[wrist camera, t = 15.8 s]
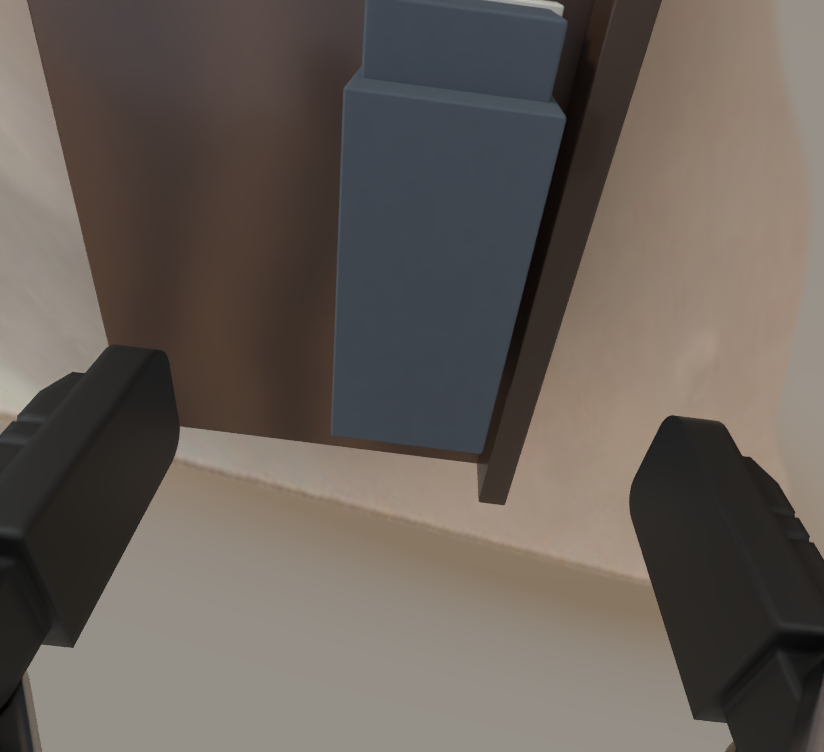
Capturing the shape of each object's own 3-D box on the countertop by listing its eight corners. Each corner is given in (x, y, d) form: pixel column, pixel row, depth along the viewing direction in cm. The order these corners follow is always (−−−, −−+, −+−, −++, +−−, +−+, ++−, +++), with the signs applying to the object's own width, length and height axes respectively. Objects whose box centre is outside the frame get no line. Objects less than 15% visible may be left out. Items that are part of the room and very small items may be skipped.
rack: (174, 349, 27) (100, 455, 21) (75, -285, 15) (-149, -420, 10) (494, 390, 27) (504, 506, 22) (643, -201, 15) (751, -285, 10)
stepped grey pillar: (478, 370, 21) (483, 460, 17) (351, 354, 20) (328, 441, 17) (559, 2, 14) (594, 21, 10) (373, -24, 14) (344, -13, 10)
